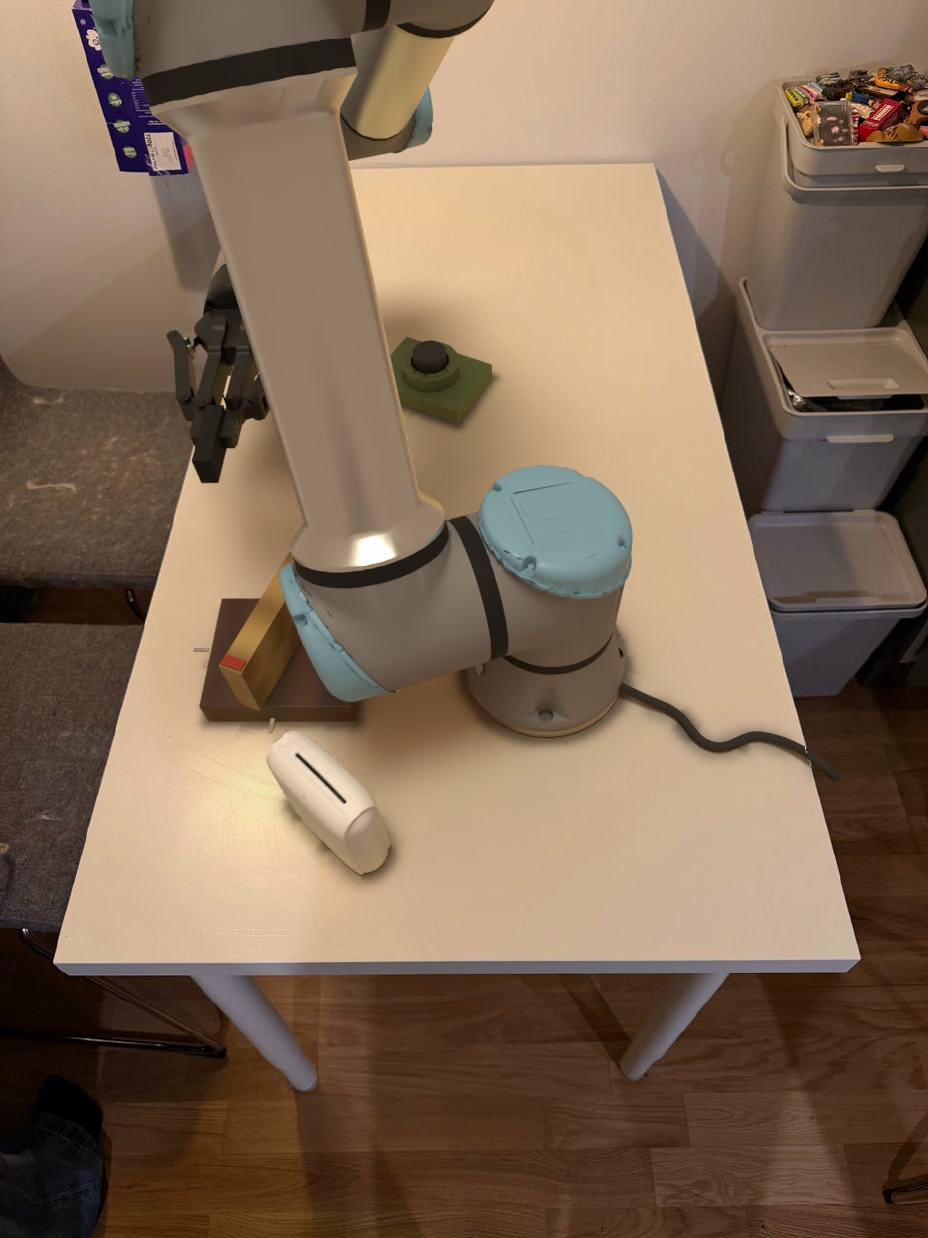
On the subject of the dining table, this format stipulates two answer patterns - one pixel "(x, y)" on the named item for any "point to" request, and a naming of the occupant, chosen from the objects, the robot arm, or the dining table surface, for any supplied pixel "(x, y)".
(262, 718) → the panel
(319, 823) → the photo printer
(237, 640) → the golden wooden board
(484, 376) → the button block
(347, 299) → the robot arm
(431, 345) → the button
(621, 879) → the dining table surface
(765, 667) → the dining table surface
